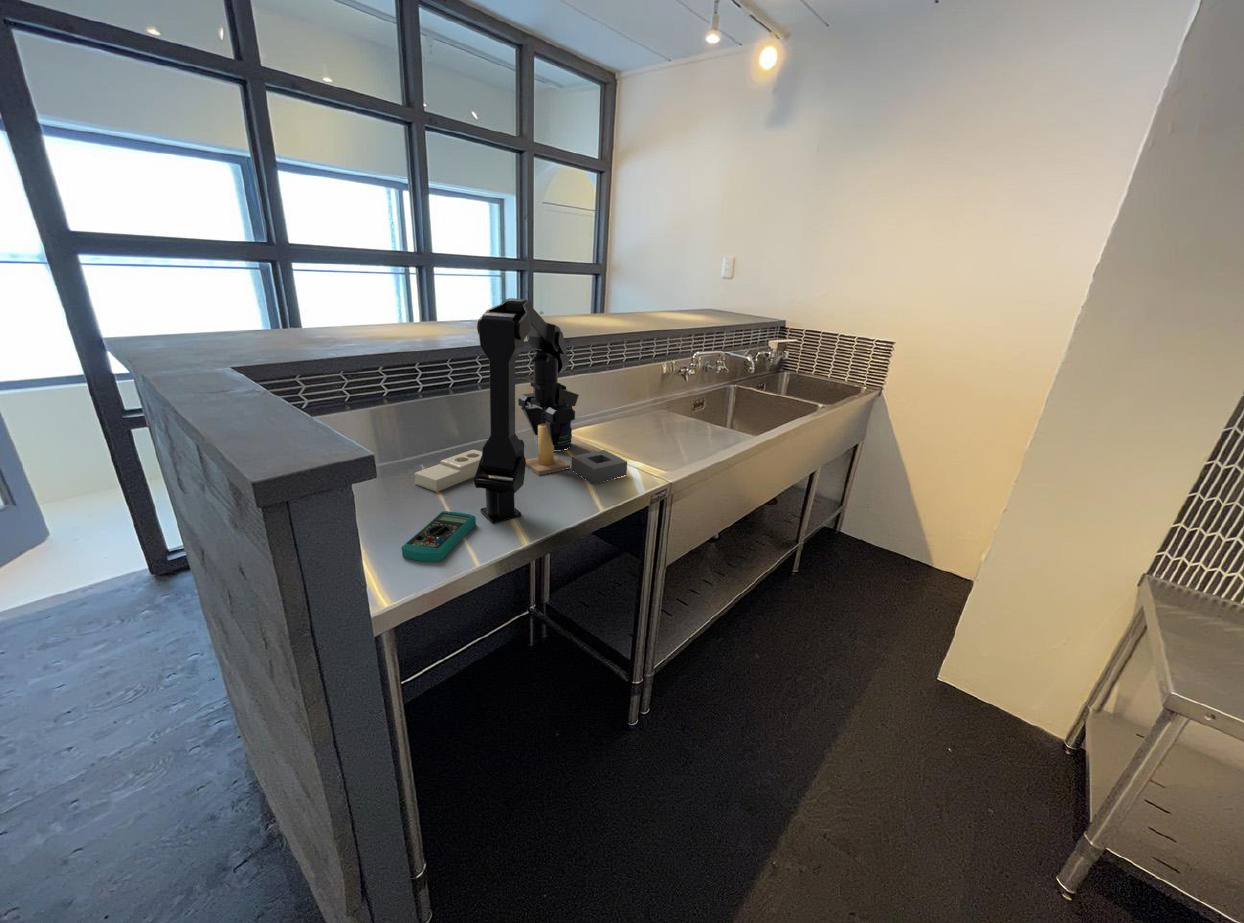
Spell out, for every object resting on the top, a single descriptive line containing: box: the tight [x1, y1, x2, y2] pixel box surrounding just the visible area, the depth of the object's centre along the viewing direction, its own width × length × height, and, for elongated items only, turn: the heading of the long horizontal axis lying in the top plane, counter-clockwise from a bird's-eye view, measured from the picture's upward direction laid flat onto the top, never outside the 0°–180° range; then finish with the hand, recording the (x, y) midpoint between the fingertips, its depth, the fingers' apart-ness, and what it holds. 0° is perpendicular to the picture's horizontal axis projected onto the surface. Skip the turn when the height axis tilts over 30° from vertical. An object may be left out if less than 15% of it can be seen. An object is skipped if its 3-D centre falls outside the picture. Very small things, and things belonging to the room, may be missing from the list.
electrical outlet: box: [414, 449, 482, 493], centre depth 121 cm, size 7×4×18 cm
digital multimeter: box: [401, 510, 477, 563], centre depth 93 cm, size 7×15×3 cm, turn 170°
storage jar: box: [536, 402, 573, 450], centre depth 143 cm, size 10×10×15 cm
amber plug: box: [537, 423, 555, 466], centre depth 128 cm, size 4×4×10 cm
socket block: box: [570, 449, 628, 485], centre depth 127 cm, size 10×10×4 cm
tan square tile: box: [525, 455, 571, 476], centre depth 130 cm, size 9×9×1 cm
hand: (545, 439), depth 128 cm, fingers open, 9 cm apart
